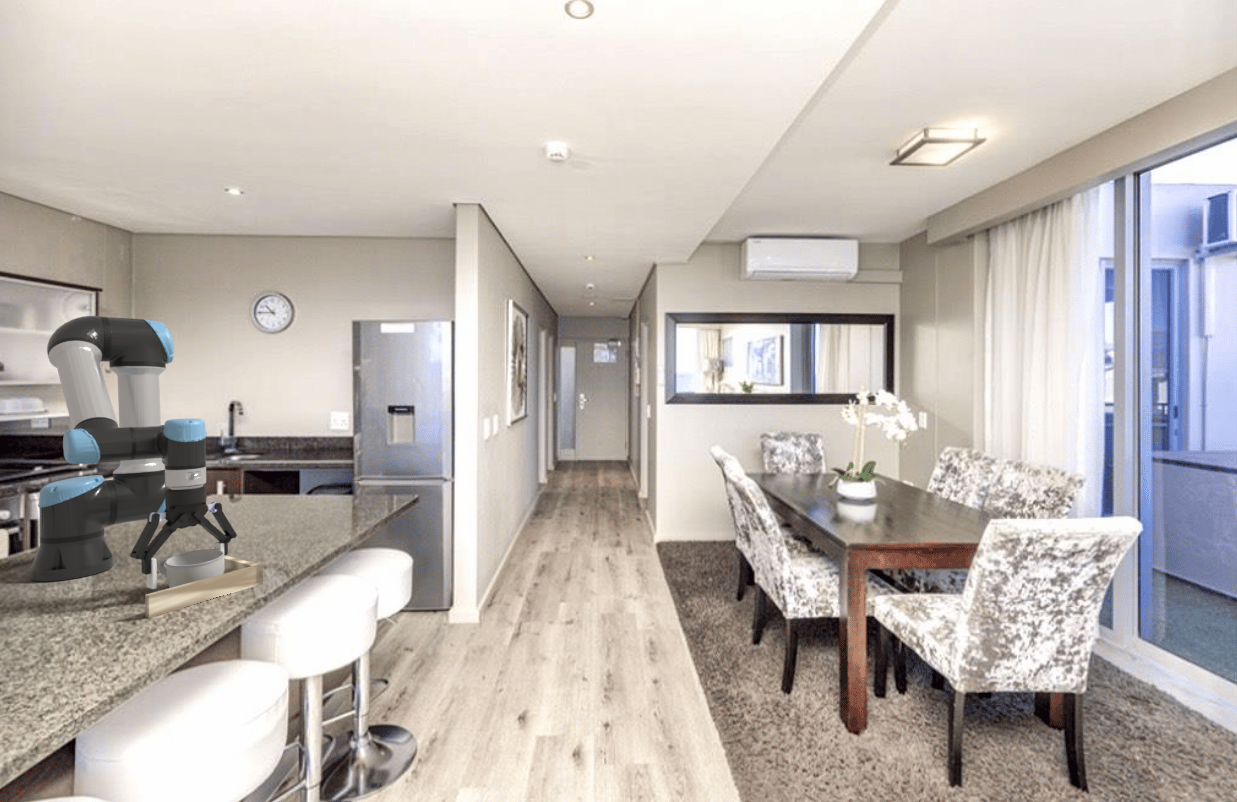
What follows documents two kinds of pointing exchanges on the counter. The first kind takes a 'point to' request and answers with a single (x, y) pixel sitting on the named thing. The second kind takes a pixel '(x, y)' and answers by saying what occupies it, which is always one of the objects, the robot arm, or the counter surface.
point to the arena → (206, 587)
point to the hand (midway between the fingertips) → (187, 578)
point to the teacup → (191, 566)
